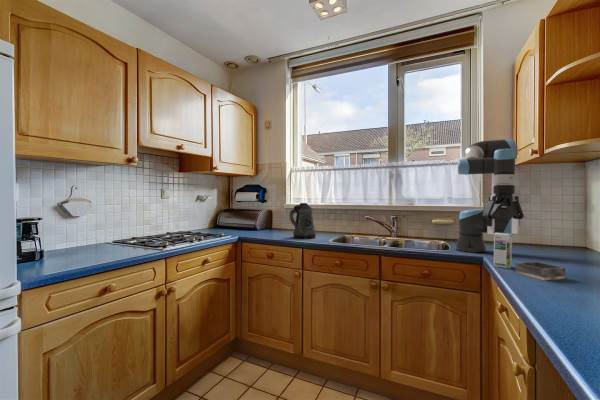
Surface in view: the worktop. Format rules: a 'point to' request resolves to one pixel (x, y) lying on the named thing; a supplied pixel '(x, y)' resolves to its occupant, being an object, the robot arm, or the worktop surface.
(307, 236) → the black handled container
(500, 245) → the syrup box
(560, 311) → the worktop surface
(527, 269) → the frame
